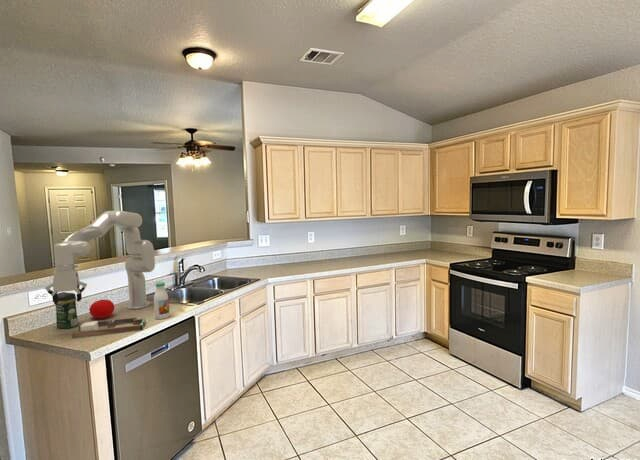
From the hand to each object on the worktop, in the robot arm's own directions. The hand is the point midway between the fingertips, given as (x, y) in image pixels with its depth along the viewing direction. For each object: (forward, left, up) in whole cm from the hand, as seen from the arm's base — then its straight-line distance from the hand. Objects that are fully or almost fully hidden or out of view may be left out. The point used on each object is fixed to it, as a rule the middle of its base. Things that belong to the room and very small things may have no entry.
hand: (67, 302), depth 173 cm
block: (0, +9, -17) cm, 19 cm away
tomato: (-26, +8, -17) cm, 32 cm away
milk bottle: (-13, +41, -17) cm, 46 cm away
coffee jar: (-16, -6, -17) cm, 24 cm away
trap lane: (-2, +18, -17) cm, 25 cm away
